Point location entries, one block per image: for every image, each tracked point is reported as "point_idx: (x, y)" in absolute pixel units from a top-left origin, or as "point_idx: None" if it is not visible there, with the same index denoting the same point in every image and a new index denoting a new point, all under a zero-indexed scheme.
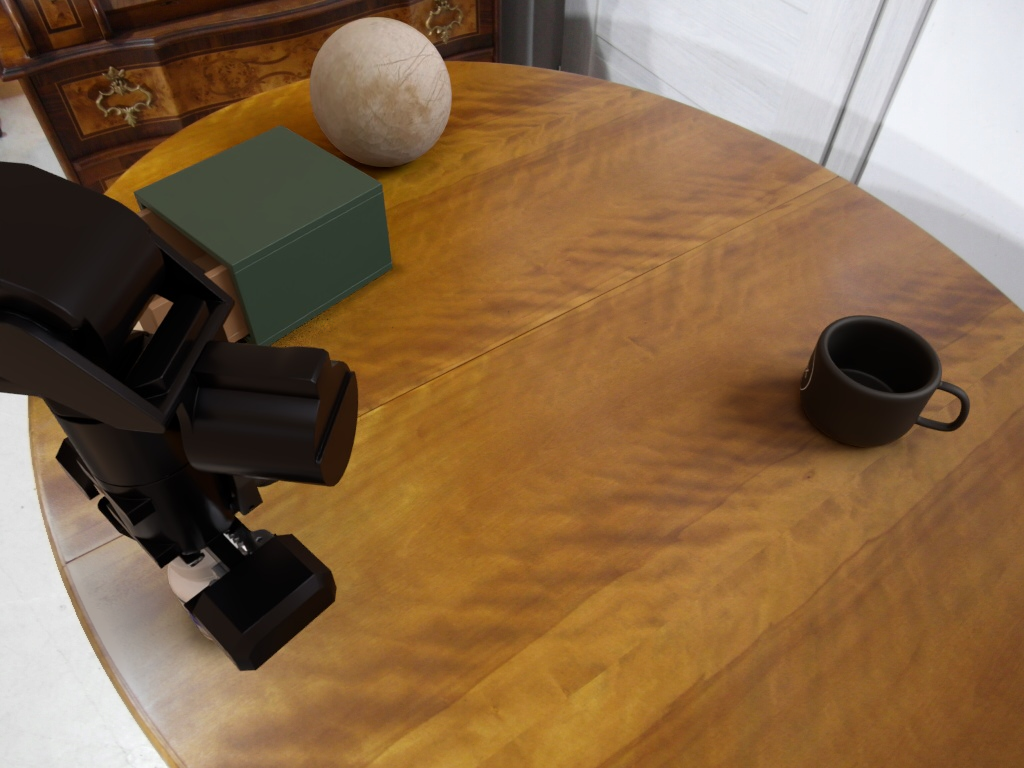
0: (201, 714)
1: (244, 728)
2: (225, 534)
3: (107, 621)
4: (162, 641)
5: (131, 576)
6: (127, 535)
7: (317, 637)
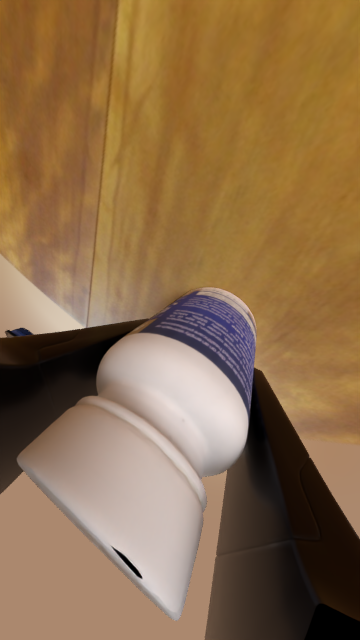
0: None
1: None
2: (126, 568)
3: None
4: None
5: None
6: (22, 471)
7: (333, 334)
